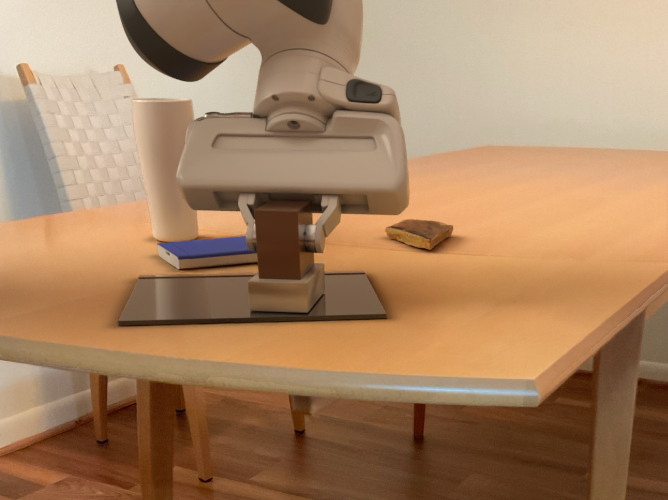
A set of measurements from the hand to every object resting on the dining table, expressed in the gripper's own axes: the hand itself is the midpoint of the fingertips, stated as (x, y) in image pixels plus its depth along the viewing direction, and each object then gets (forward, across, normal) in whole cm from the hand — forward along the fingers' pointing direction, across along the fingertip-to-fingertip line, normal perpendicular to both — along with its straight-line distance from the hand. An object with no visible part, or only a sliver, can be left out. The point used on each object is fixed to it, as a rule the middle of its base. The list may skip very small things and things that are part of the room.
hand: (284, 248), depth 78 cm
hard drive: (-11, -12, +18) cm, 24 cm away
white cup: (-18, -20, +25) cm, 37 cm away
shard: (-20, +10, +28) cm, 36 cm away
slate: (+2, -4, +6) cm, 7 cm away
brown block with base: (+3, 0, +4) cm, 5 cm away
